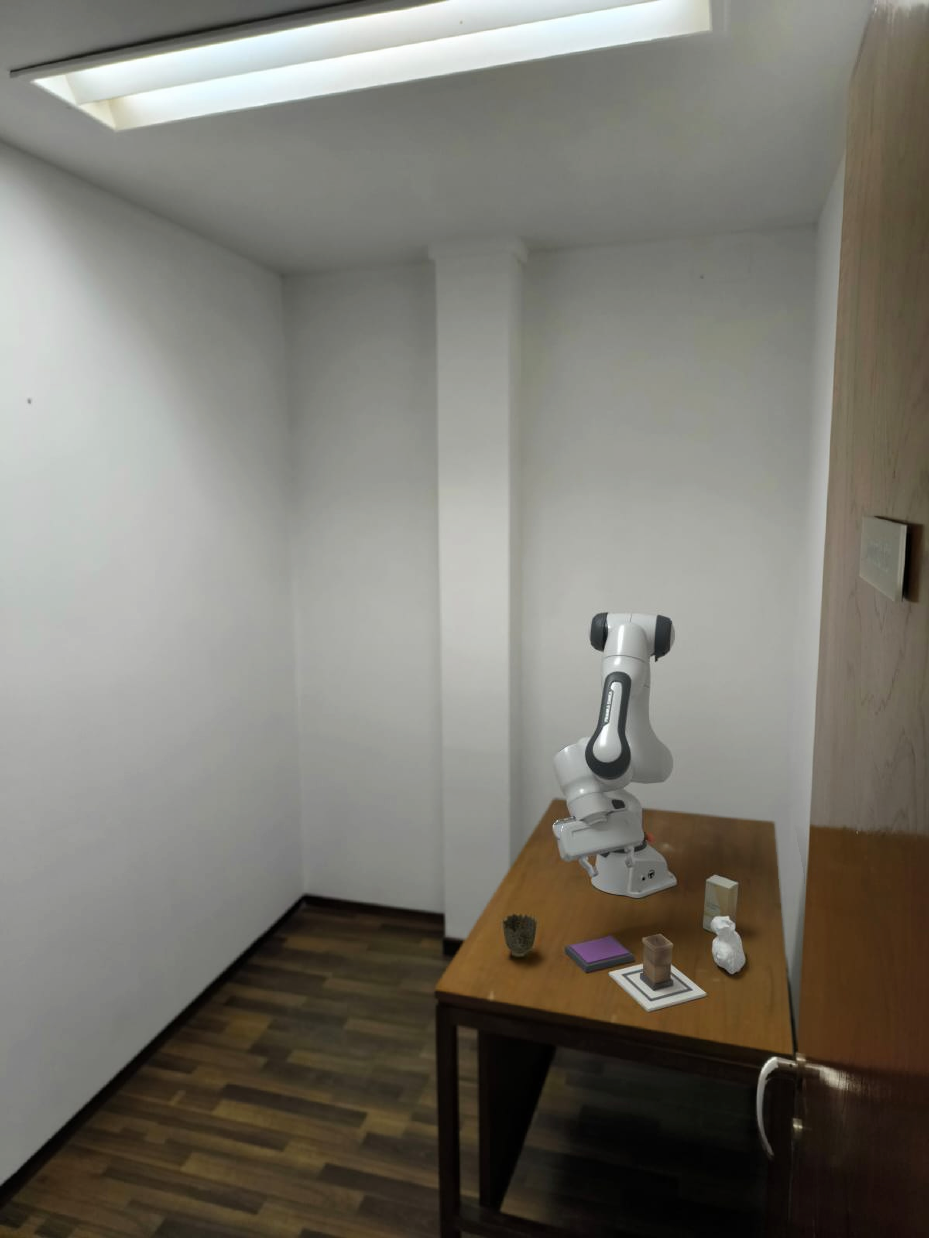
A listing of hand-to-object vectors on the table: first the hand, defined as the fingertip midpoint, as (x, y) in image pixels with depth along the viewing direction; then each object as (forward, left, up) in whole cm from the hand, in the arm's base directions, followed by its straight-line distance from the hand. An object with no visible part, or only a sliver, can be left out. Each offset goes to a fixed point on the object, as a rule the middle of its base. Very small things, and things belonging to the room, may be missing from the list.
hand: (613, 871), depth 178 cm
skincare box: (-28, +2, -19) cm, 34 cm away
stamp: (-1, +15, -18) cm, 23 cm away
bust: (-20, +14, -19) cm, 31 cm away
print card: (-1, +15, -18) cm, 24 cm away
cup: (+20, -6, -19) cm, 28 cm away
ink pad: (+4, +1, -18) cm, 19 cm away
